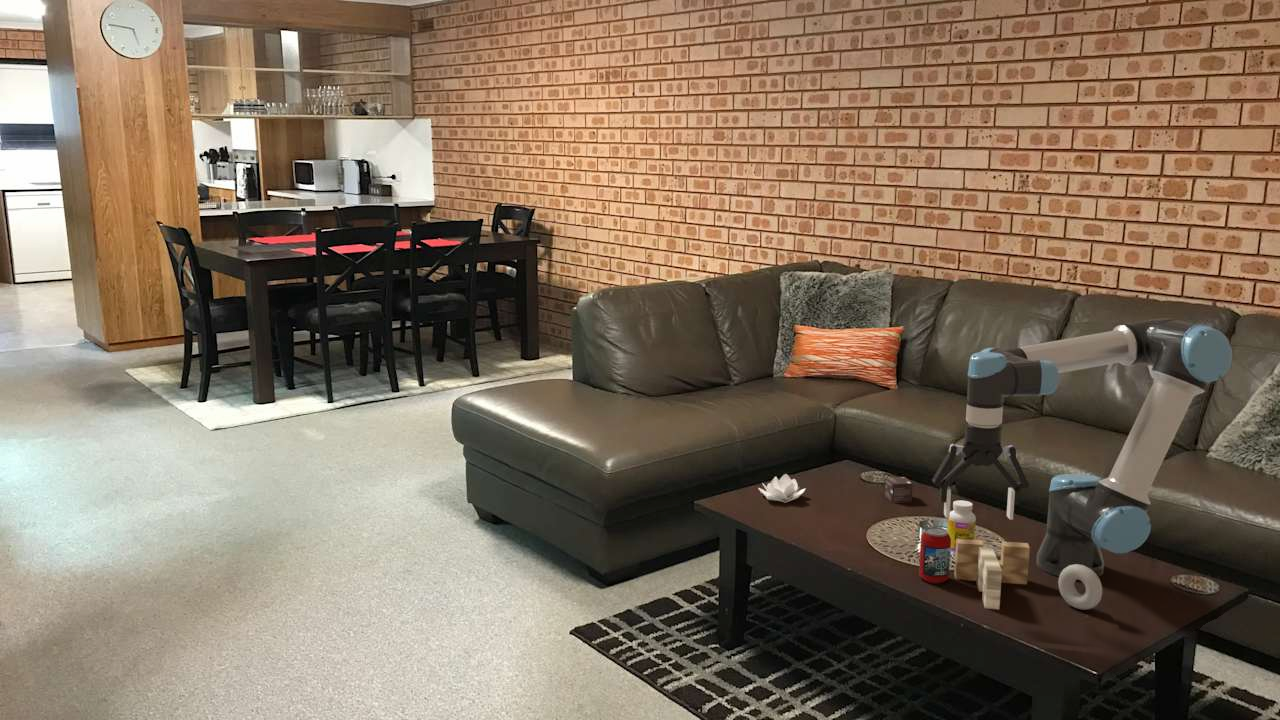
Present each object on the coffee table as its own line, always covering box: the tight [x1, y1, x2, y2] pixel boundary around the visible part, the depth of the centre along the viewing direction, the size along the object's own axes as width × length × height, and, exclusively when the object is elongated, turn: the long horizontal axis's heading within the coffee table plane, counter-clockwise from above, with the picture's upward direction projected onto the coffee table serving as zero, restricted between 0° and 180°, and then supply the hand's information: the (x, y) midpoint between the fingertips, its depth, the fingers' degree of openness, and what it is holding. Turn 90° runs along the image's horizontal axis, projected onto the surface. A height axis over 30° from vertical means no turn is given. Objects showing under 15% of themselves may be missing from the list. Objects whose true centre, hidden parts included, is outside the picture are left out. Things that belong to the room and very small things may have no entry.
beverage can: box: [918, 526, 951, 584], centre depth 245 cm, size 7×7×12 cm
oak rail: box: [954, 539, 1031, 585], centre depth 246 cm, size 16×3×9 cm, turn 80°
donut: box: [1057, 564, 1103, 611], centre depth 230 cm, size 10×4×10 cm, turn 35°
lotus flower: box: [757, 473, 807, 504], centre depth 299 cm, size 14×15×9 cm
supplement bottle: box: [946, 499, 977, 555], centre depth 263 cm, size 7×7×13 cm
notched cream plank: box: [976, 546, 1002, 610], centre depth 236 cm, size 14×3×9 cm, turn 170°
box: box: [884, 476, 914, 504], centre depth 299 cm, size 6×6×7 cm
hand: (978, 517), depth 231 cm, fingers open, 13 cm apart
